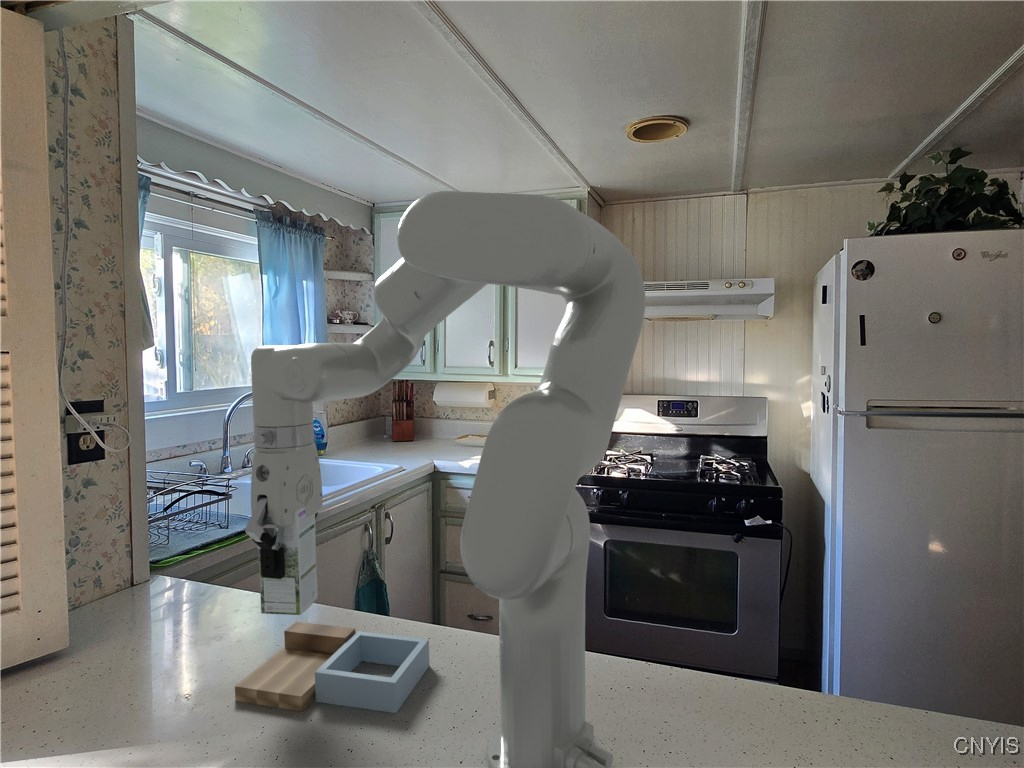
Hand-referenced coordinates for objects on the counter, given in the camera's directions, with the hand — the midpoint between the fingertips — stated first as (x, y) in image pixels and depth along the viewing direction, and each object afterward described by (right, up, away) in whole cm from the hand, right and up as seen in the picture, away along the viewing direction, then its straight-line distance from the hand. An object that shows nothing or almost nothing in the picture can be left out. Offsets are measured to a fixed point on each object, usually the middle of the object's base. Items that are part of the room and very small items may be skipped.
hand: (288, 566), depth 81 cm
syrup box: (0, -6, 0) cm, 6 cm away
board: (0, -17, +1) cm, 17 cm away
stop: (+2, -16, +8) cm, 18 cm away
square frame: (+12, -17, +1) cm, 20 cm away
